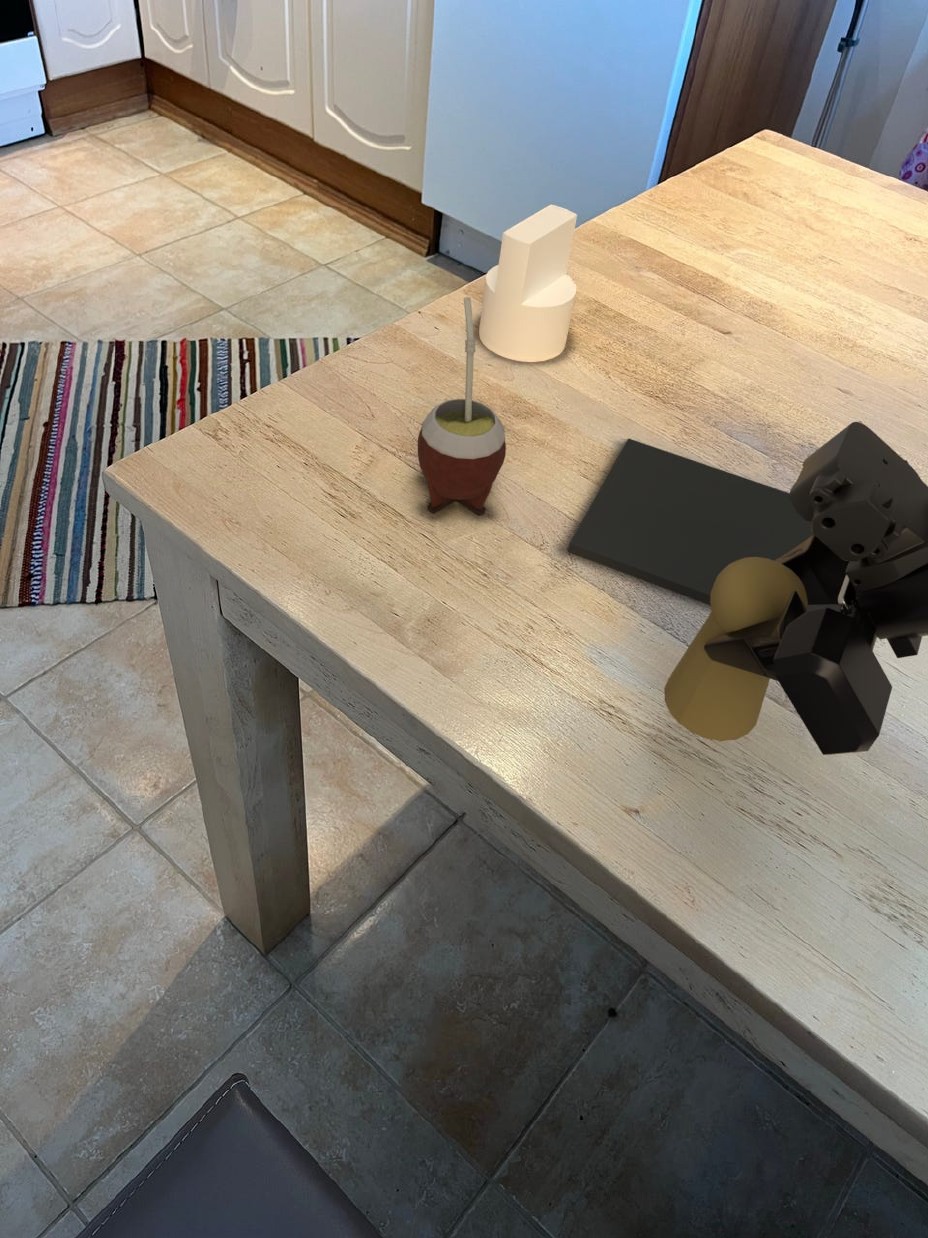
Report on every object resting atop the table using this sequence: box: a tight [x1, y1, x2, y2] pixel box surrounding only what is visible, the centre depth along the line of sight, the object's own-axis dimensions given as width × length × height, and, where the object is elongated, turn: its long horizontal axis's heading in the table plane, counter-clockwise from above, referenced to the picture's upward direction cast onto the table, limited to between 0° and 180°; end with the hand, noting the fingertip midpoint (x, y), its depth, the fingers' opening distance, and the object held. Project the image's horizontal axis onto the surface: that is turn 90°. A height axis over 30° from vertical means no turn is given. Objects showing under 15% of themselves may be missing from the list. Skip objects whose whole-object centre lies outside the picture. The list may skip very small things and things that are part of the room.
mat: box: [567, 438, 840, 612], centre depth 79 cm, size 22×16×1 cm
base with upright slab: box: [478, 204, 578, 363], centre depth 93 cm, size 9×9×12 cm
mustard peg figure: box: [663, 557, 808, 742], centre depth 56 cm, size 6×6×11 cm
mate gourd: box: [417, 296, 507, 517], centre depth 74 cm, size 8×8×15 cm
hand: (721, 622), depth 55 cm, fingers closed on mustard peg figure, 5 cm apart
